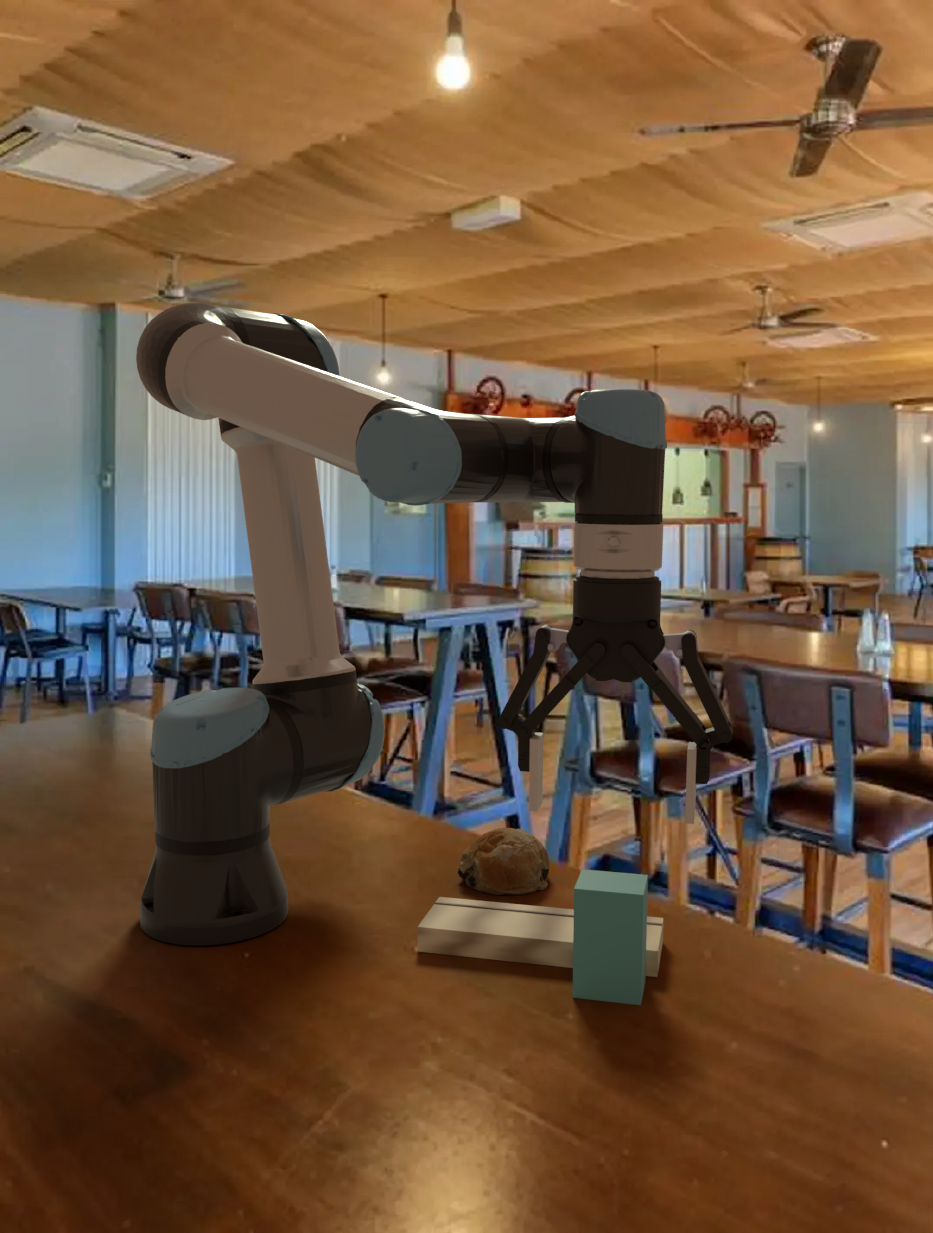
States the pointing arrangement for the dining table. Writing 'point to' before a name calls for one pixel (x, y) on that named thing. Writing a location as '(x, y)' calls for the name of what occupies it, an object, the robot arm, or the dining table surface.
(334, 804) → the dining table surface
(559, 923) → the plank
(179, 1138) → the dining table surface
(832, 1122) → the dining table surface
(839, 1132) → the dining table surface
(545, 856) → the bread roll
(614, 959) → the teal boxy piece
